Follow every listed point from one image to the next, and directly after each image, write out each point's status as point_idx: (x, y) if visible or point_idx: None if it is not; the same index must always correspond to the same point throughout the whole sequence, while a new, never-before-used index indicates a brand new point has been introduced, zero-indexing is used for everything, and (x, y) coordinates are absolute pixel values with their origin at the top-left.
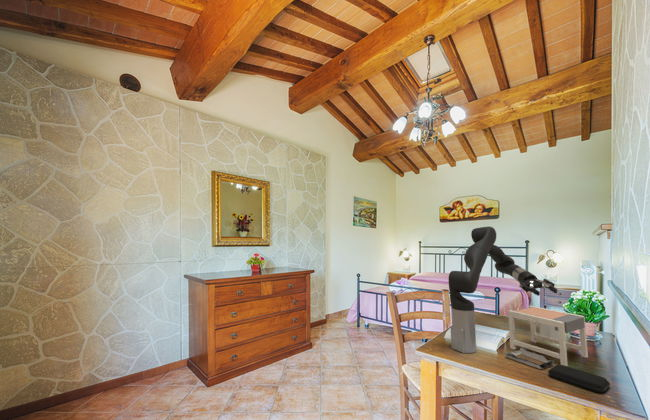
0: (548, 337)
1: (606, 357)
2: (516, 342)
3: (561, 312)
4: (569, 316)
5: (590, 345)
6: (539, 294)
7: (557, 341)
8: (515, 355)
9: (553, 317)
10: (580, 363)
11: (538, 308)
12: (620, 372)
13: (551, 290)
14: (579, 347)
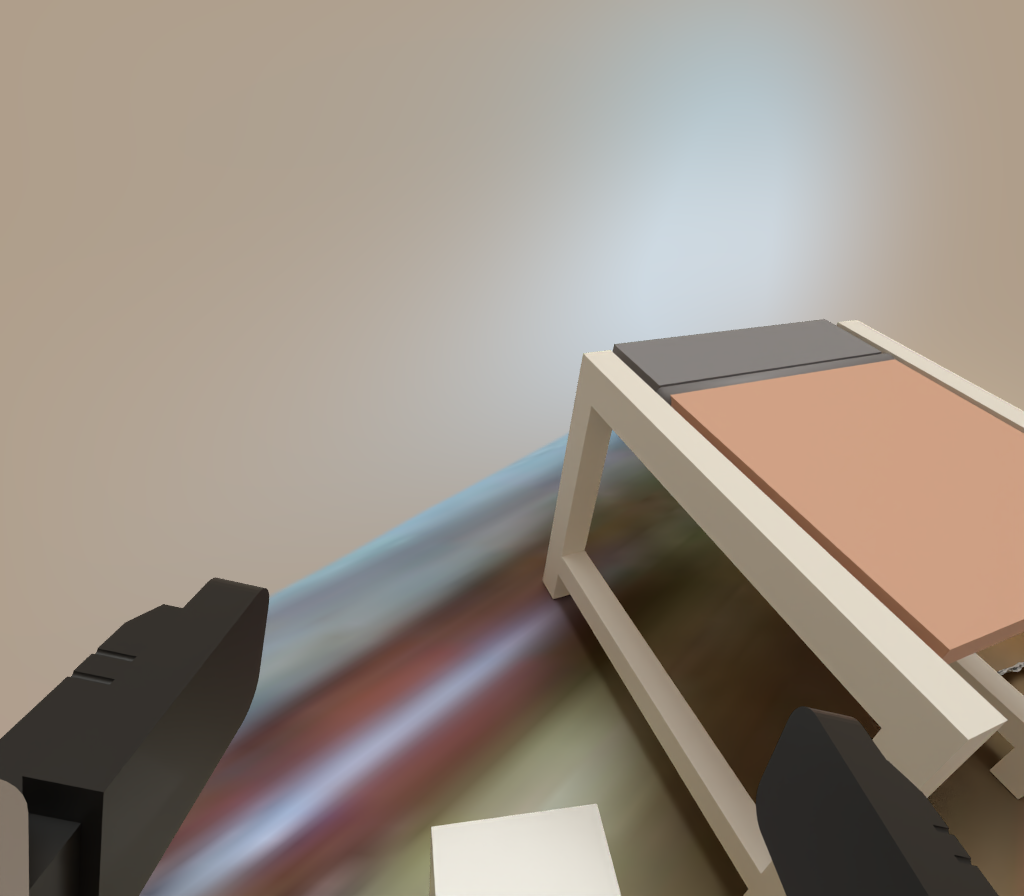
0: (693, 740)
1: (431, 563)
2: (1021, 702)
3: (699, 436)
4: (714, 368)
5: (276, 743)
6: (773, 765)
7: (659, 670)
8: (1007, 668)
9: (863, 374)
10: (658, 536)
11: (889, 582)
12: (550, 458)
13: (164, 836)
14: (586, 560)
